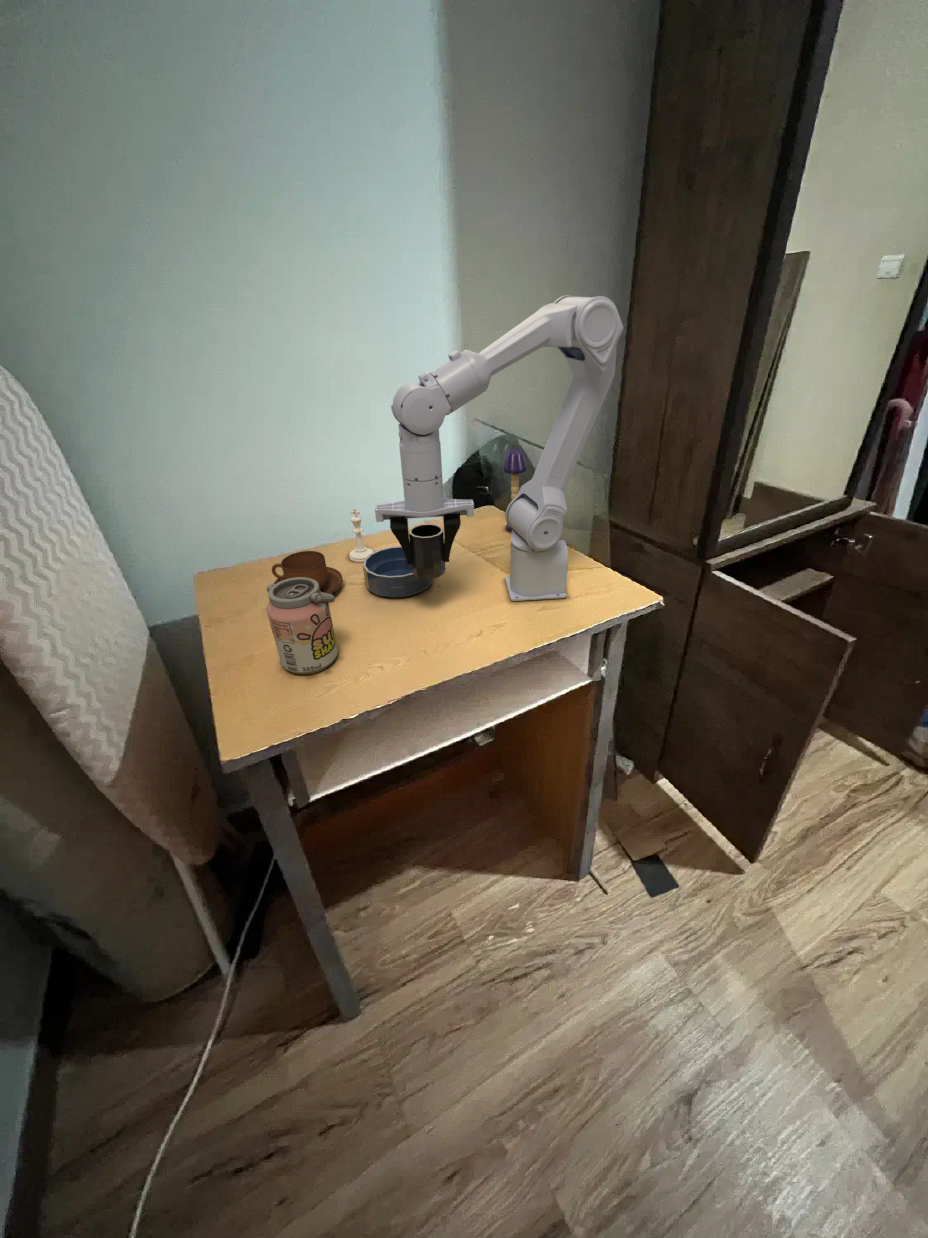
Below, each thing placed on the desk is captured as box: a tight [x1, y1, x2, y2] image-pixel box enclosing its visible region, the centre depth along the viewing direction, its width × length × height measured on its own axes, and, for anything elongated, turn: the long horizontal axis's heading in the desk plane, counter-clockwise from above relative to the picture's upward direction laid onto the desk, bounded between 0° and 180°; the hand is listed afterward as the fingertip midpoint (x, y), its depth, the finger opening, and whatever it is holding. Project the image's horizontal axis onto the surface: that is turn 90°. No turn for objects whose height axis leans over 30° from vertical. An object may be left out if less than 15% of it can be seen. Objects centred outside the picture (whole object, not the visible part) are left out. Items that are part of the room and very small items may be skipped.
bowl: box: [362, 545, 434, 598], centre depth 94 cm, size 12×12×4 cm
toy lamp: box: [503, 448, 527, 533], centre depth 110 cm, size 5×5×17 cm
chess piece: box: [348, 507, 375, 563], centre depth 102 cm, size 5×5×10 cm
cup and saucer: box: [271, 550, 343, 595], centre depth 92 cm, size 12×12×6 cm
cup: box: [408, 523, 446, 580], centre depth 82 cm, size 5×5×7 cm
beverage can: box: [266, 577, 339, 676], centre depth 74 cm, size 9×8×12 cm
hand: (428, 560), depth 83 cm, fingers closed on cup, 5 cm apart
